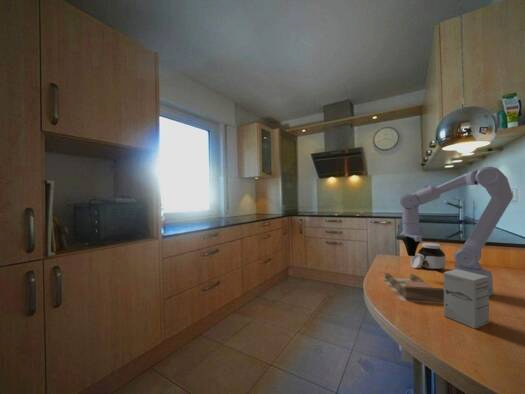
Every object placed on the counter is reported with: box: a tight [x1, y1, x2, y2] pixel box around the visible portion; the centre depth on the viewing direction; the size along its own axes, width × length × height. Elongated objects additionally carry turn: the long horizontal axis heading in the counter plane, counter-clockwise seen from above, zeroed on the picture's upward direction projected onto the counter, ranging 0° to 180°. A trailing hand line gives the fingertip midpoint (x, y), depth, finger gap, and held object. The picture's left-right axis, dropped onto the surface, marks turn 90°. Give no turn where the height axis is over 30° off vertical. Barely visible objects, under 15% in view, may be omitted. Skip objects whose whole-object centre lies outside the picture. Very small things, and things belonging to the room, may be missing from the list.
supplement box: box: [443, 268, 490, 330], centre depth 63 cm, size 7×7×13 cm
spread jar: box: [410, 242, 447, 272], centre depth 108 cm, size 12×11×12 cm
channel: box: [381, 272, 444, 305], centre depth 83 cm, size 22×14×5 cm, turn 168°
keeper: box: [405, 281, 433, 288], centre depth 77 cm, size 5×6×4 cm
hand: (411, 255), depth 95 cm, fingers closed
